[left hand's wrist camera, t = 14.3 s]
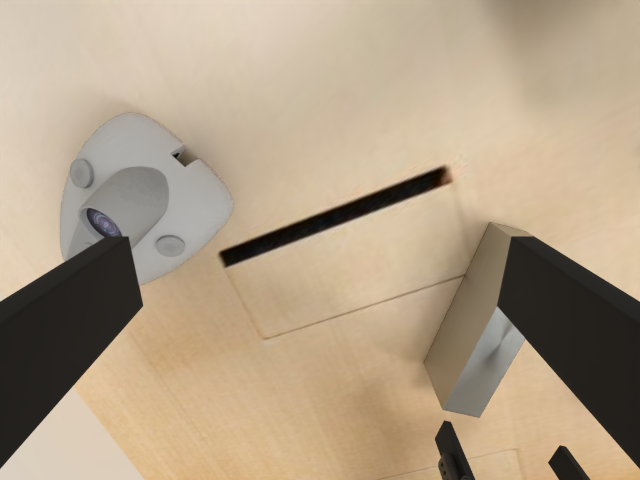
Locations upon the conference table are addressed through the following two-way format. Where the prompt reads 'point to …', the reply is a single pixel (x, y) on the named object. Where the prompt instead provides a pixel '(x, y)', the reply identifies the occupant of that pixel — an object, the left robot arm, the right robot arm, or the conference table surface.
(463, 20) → the conference table surface
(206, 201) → the projector
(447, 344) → the bar
